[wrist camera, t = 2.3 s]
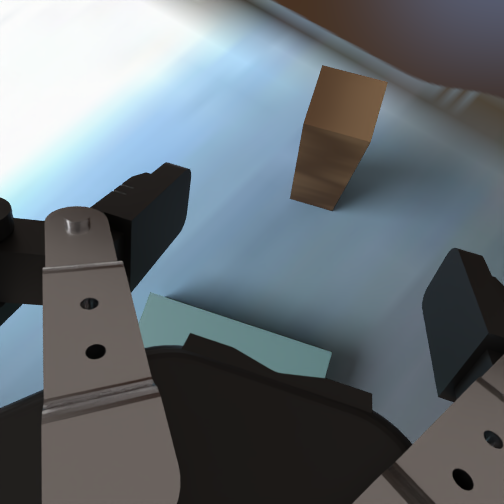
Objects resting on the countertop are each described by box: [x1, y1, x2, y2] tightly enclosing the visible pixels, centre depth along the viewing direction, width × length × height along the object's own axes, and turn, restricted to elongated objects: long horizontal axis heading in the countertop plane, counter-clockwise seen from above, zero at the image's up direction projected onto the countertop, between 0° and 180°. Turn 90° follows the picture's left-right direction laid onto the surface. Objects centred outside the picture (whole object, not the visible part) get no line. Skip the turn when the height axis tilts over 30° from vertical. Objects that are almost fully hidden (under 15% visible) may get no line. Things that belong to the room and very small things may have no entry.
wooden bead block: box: [139, 292, 332, 378], centre depth 23 cm, size 11×11×3 cm
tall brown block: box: [290, 65, 388, 211], centre depth 22 cm, size 3×3×10 cm
